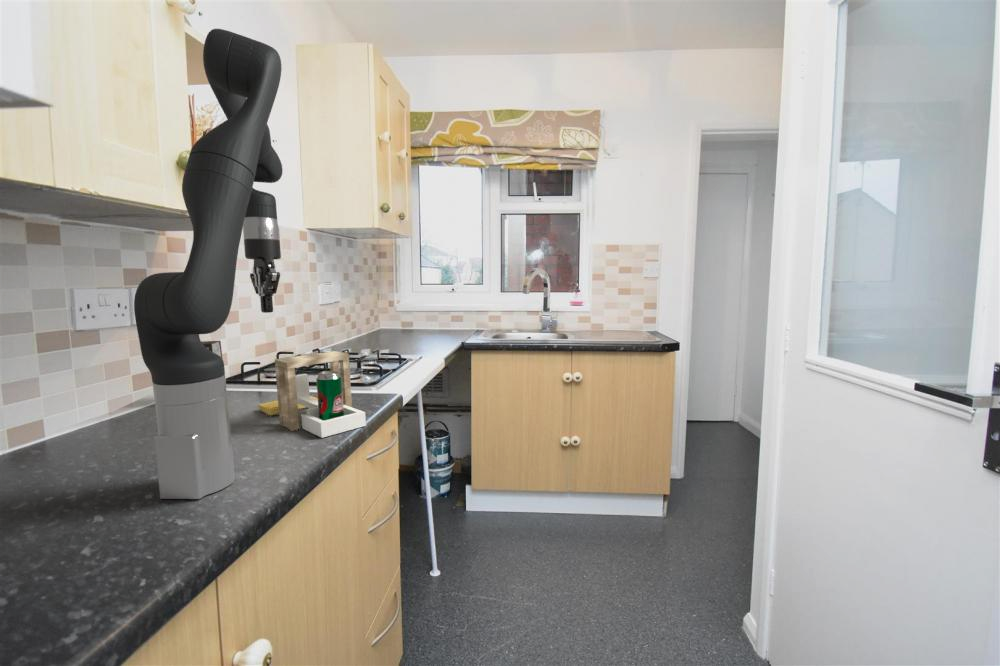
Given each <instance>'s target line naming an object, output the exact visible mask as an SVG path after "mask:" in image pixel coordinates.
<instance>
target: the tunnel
mask: <svg viewBox="0 0 1000 666" xmlns="http://www.w3.org/2000/svg"><path fill="white" fill-rule="evenodd" d="M326 363H329V369H330V370H329V371H339V374H340V375H341V377H342V392H343V405H347V406H349V407H352V408H353V401H352V387H351V386H352V384H351V370H350V369H351V368H350V353H349V352H348V353H347V352H342V351H336V350H331V351H325V352H319V353H310V354H304V355H298V356H297V355H296V356H289V357H282V358H276V359H274V368H275V379H276V392H277V401H278V407H279V415H278V418H279V419H278V420H279V426H281V425H282V426H281V427H284V426H285V427H284V428H286V427H287V429H288V430H289V431H291V432H295V431H294V430H296V431H299V430H300V419H299V411H298V404H297V391H296V377H295V375H296V368H300V367H306V366H313V365H318V364H326ZM298 429H299V430H298Z"/></svg>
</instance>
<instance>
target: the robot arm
mask: <svg viewBox="0 0 1000 666" xmlns="http://www.w3.org/2000/svg"><path fill="white" fill-rule="evenodd" d="M203 43H204V45H203V51H202V62H203V63H202V64H203V69H204V73H205V76H206V79H207V81H208V84H209V86H210V88H211V90H212V92H213V94H214V96H215V99H217V102H218V104H219V106H220V108H221V111H223V113H224V116H225V117H226V120H224V121H223V122H221V123H220V124H218V125H216V126H215V127H214V128H211V129H210V130H209V131H207V132H206V133H205V134H203V135H202V136H201V137H200V138H199V139H198V140H197V141H196V142H195V143H194V144H193V145H192V147H191V149H190V152H189V155H188V159H187V162H186V166H185V170H184V173H183V178H182V183H181V188H182V189H181V192H182V198H183V202H184V205H185V207H186V211H187V213H188V217H189V219H190V221H191V225H192V232H193V234H192V235H193V236H192V237H193V238H192V244H191V249H190V253H189V256H188V260H187V264H186V266H185V268H184V271H179V272H178V271H173V272H171V271H169V272H158V273H153V274H151V275H148V276H147V277H145V278H144V279H143V280H142V281H141V282H140V283H139V284H138V286H137V288H136V291H135V294H134V300H133V301H134V302H133V309H134V310H133V311H134V317H135V318H134V319H135V324H136V330H137V336H138V340H139V341H138V342H139V346H140V353H141V357H142V361H143V362H144V364H145V367H146V368H147V369H148V370H149V372H150V374H151V381H152V382H151V383H152V389H153V397H154V406H155V415H156V425H157V435H155V436H154V438H153V447H154V456H155V457H154V458H155V463H156V472H157V481H158V488H159V489H158V490H159V497H160V499H161V500H163V499H164V500H166V499H167V500H173V499H174V500H201V499H202V498H204V497H206V496H207V495H210V494H213V493H217V492H219V491H221V490H223V489H225V488H226V487H229V486H230V485H232V484H233V483H234V481H235V479H236V477H235V476H236V475H235V467H234V465H235V463H234V455H233V454H234V453H233V446H232V445H233V443H232V435H231V425H230V415H229V414H230V413H229V403H228V402H229V401H228V393H227V392H228V391H227V380H226V371H225V363H224V362H225V361H224V359H223V357H222V358H221V357H220V356H219V355H217V354H215V353H213V352H212V351H210V350H208V349H207V348H206V347H205V346H204V345H203V344H202V342H201V338H200V335H207V334H212V333H214V332H216V331H218V330H219V329H221V328H222V327H223V326H224V324H225V322H226V321H227V319H228V317H229V315H230V312H231V308H232V303H233V300H234V299H233V297H234V290H235V282H236V281H235V280H236V270H237V261H238V255H239V254H238V253H239V250H240V249H239V247H240V243H241V238H242V234H243V243H244V244H243V246H244V257H245V258H246V259H247V260H253V266H252V272H251V273H250V274H249V277H250V280H251V283H252V287H253V289H254V292H255V294H256V295H258V297H259V298H260V299H259V300H260V310H261V311H260V312H261V313H265V314H267V313H269V314H270V313H273V312H274V305H273V303H274V302H273V297H274V294H277V291H278V286H279V282H280V278H281V272H280V271H277V269H276V264H275V261H274V260H280V259H281V258H282V257H281V256H282V254H281V242H280V228H279V224H278V214H277V200H276V197H275V196H274V195H273V194H271V193H269V192H266V191H261V190H258V189H256V188H254V187H253V186H254V183H264V184H265V183H268V184H272V183H273V184H274V183H277V182H279V181H280V179H281V178H282V176H283V165H282V164H283V163H282V161H281V159H280V157H279V155H278V153H277V152H276V150H275V149H274V147H273V145H272V140H271V139H272V137H271V133H270V132H271V131H270V127H269V126H268V121H269V118H270V115H271V112H272V109H273V106H274V102H275V100H276V96H277V94H278V91H279V88H280V87H279V86H280V83H281V76H282V61H281V57H280V54H279V52H278V50H276V49H275V48H274V47H272V46H271V45H269V44H266V43H265V42H261V41H258V40H256V39H253V38H250V37H247V36H244V35H241V34H238V33H235V32H234V31H230V30H227V29H223V28H213V29H211V30H210V31H208V33H207V35H206V37H205V40H204V42H203Z"/></svg>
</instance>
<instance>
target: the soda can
mask: <svg viewBox="0 0 1000 666" xmlns="http://www.w3.org/2000/svg"><path fill="white" fill-rule="evenodd" d="M339 373H340V370H339V371H330V370H324V371H321V372H319V373H317V377H316V381H315V383H316V393H317V398H318V410H319V419H321V420H323V421H325V420H329V419H333V418H337V417H341V416H344V408H343V392H342V377H341V373H340V374H339Z"/></svg>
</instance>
